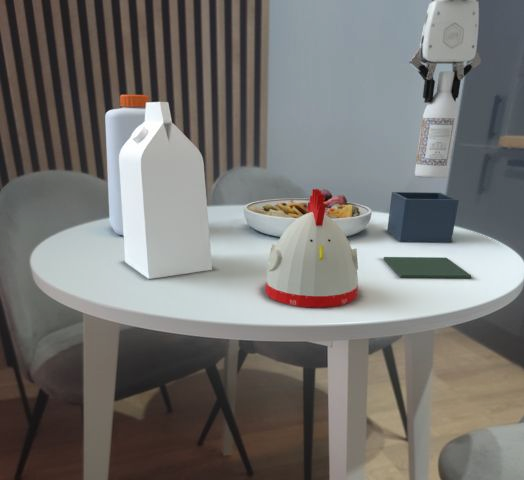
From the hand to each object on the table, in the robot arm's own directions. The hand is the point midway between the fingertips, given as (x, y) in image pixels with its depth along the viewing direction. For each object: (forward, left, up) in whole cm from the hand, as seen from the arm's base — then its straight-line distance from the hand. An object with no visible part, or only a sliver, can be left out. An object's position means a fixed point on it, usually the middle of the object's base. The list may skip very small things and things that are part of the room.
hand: (439, 101), depth 102 cm
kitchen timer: (+29, +41, -28) cm, 57 cm away
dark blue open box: (0, 0, -28) cm, 28 cm away
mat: (+7, +27, -28) cm, 39 cm away
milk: (+53, +27, -28) cm, 66 cm away
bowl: (+25, -7, -28) cm, 38 cm away
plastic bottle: (+63, -4, -28) cm, 69 cm away
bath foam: (0, 0, -15) cm, 15 cm away
